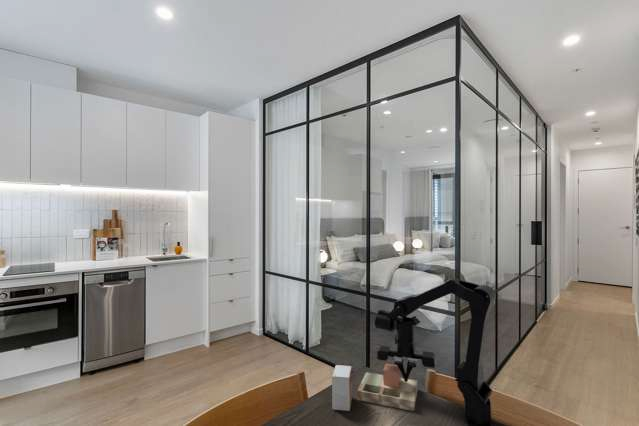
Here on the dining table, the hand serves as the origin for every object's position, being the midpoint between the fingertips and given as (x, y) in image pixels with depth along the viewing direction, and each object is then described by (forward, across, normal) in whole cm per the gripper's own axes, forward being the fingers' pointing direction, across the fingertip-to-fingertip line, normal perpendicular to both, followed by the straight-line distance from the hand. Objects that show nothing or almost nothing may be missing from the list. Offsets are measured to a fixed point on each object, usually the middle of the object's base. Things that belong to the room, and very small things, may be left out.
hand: (406, 381), depth 109 cm
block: (+1, +5, 0) cm, 5 cm away
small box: (+4, +19, +13) cm, 23 cm away
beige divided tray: (+4, +6, +3) cm, 8 cm away
